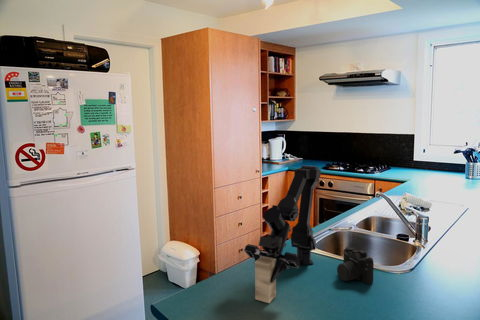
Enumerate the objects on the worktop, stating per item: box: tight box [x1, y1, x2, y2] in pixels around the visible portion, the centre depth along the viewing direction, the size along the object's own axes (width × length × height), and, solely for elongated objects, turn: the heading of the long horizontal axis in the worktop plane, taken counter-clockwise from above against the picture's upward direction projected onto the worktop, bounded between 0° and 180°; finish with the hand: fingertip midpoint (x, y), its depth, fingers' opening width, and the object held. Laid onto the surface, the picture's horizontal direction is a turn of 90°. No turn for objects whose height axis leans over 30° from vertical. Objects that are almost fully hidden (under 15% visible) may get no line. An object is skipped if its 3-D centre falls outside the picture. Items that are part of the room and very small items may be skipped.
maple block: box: [254, 256, 277, 304], centre depth 118 cm, size 5×5×13 cm
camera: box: [336, 246, 375, 285], centre depth 133 cm, size 14×11×10 cm
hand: (263, 280), depth 117 cm, fingers closed on maple block, 5 cm apart
